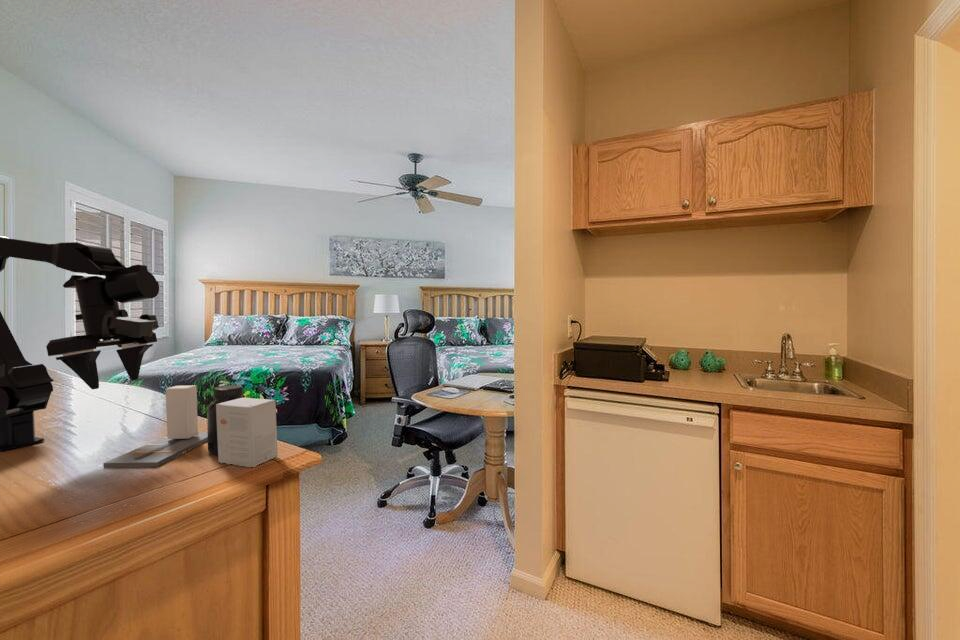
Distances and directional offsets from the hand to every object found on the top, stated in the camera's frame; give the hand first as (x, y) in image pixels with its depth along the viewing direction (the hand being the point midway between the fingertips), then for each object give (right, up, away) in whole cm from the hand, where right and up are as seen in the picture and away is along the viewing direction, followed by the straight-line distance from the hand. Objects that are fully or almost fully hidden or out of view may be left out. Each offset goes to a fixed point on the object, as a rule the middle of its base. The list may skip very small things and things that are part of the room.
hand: (116, 384), depth 83 cm
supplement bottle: (+25, -12, -4) cm, 28 cm away
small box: (+31, -12, -9) cm, 35 cm away
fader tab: (+13, -11, +1) cm, 17 cm away
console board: (+13, -12, -3) cm, 18 cm away
